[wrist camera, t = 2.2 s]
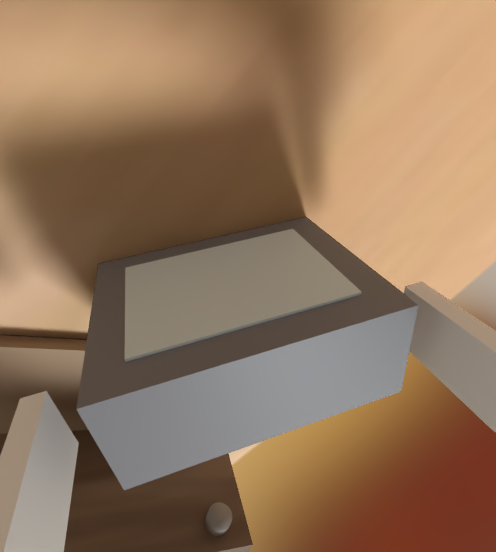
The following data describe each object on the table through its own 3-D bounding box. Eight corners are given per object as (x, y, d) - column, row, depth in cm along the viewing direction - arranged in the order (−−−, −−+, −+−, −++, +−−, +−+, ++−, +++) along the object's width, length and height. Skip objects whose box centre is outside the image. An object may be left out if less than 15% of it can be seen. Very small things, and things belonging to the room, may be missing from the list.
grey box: (97, 261, 15) (74, 406, 8) (305, 214, 17) (419, 302, 10) (125, 331, 17) (124, 490, 11) (306, 282, 19) (401, 391, 13)
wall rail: (-122, 328, 14) (-330, 538, 7) (243, 348, 20) (295, 470, 14) (-103, 452, 17) (-240, 675, 10) (209, 435, 23) (240, 567, 17)
